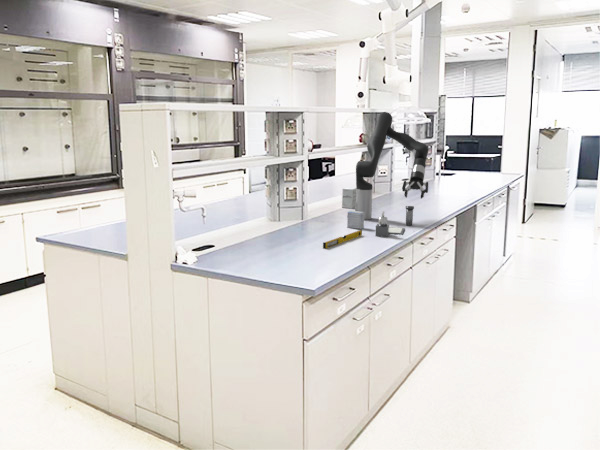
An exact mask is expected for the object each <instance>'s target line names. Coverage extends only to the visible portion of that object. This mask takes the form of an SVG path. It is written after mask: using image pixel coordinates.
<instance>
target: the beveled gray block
mask: <svg viewBox="0 0 600 450" xmlns="http://www.w3.org/2000/svg"><path fill="white" fill-rule="evenodd" d="M377 221H378V223H377V224H376V225H375V234H374V235H375V237H381V236H383V238H384V237H386V238H388V237H389V236H390V234H389V227H390V224H388V217H386V216H385V211H381V216H378V220H377Z"/></svg>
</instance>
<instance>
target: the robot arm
mask: <svg viewBox="0 0 600 450" xmlns="http://www.w3.org/2000/svg"><path fill="white" fill-rule="evenodd" d="M392 123H393V116H392V114H391V113H390V112H388V111H384V112H381V113H380V114H378V116H377V120H376V123H375V128H374V129H373V132H372V133H371V136H370V138H369V140H368V142H367V146H366V147H367V152H368V154H369V156H370V157H371V160H370V161H367V160H359V161H357V163H356V165H355V185H356V187H355V188H356V202H355V208H354V211H359V212H364V221H365V220H366V221H367V220H371V219H372V217H373V216H372V215H373V214H372V212H373V184H372V183H371V182H368V181H366V180H365V178H370V179H371V178H374V177H375V174H376V171H377V170H378V169H377V168H378V165H379V159H380V157H381V153H382V152H383V150H384V148H385V147H384V146H385V142H386V139H387V138H388V137H389V138H390V139H392V140H394V141H395V142H398V143H399V144H400V145H402V146H403V147H405V149H407V150H408V151H413V150H415V152H414V153H415V154H414V160H413V165H412V169H411V171H410V178H409V181H406V180H404V181H403V183H402V187H401V189H402V192H404V194H403V195H404V197H405V198H408V193H409V191H412V190H417V191H418V190H419V191H420V199H423V198H424V197H425V193H426V194H427V193H428V192H429V182H428V181H426V182H424V180H425V174H426V164H427V158H428V154H429V147H428V145H426V144H425V143H423V142H421V141H418V140H416V139H415V138H413V136H411V135H409V134H408V133H405V132H400V131H396V130H394V129H393V128H392ZM423 186H424V187H425V188H423Z"/></svg>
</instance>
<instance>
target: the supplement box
mask: <svg viewBox="0 0 600 450" xmlns="http://www.w3.org/2000/svg"><path fill="white" fill-rule="evenodd" d="M341 196H342V197H341V203H342V204H341V207H342V208H346V209H355V202H356V187H343V188H342V194H341Z"/></svg>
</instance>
